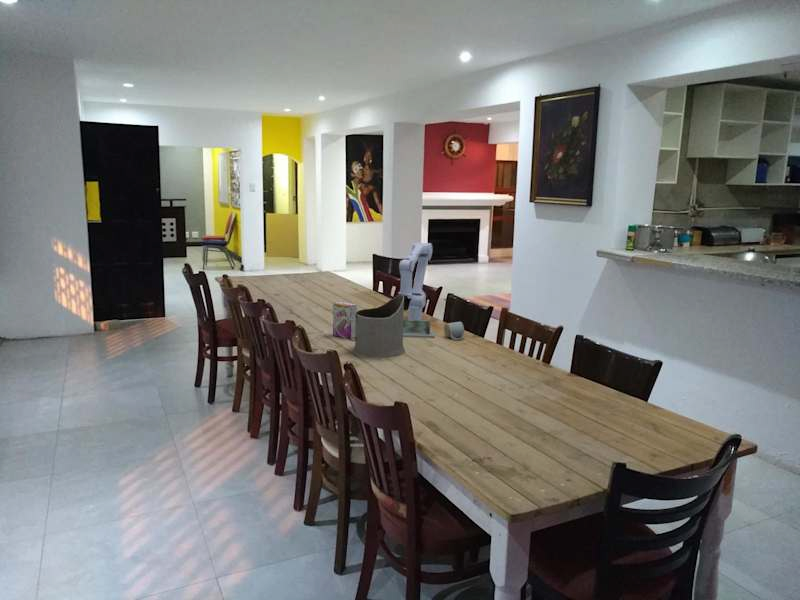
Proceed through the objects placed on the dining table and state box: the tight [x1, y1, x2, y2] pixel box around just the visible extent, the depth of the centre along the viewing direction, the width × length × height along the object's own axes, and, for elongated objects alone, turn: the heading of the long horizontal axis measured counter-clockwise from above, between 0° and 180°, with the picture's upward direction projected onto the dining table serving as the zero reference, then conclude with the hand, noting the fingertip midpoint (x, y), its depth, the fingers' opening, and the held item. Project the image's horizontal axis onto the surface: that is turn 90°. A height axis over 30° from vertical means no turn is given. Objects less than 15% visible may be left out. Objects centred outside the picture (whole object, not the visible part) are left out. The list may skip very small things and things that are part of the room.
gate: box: [403, 319, 431, 332], centre depth 303 cm, size 14×1×6 cm, turn 88°
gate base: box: [403, 321, 435, 339], centre depth 301 cm, size 8×20×7 cm, turn 89°
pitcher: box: [334, 294, 406, 359], centre depth 269 cm, size 23×32×25 cm
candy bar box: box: [332, 301, 358, 340], centre depth 295 cm, size 11×5×16 cm, turn 58°
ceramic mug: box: [443, 321, 465, 342], centre depth 298 cm, size 11×8×8 cm
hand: (405, 310), depth 311 cm, fingers closed
